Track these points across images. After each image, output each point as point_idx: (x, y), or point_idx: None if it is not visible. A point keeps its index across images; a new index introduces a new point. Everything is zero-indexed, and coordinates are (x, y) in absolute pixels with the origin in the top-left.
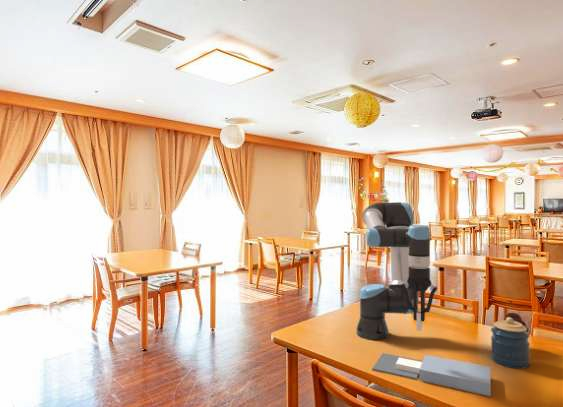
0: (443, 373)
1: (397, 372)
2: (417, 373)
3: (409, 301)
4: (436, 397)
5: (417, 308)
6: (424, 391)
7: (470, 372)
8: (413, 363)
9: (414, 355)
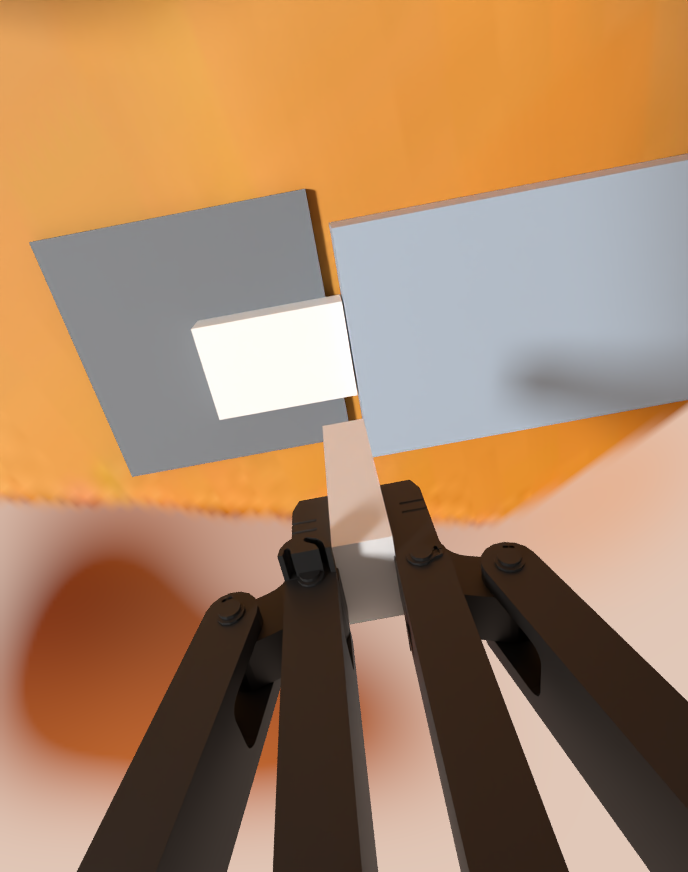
0: (489, 427)
1: (252, 439)
2: None
3: (239, 801)
4: (461, 514)
5: (340, 599)
6: None
7: (623, 322)
8: (299, 357)
9: (207, 94)
